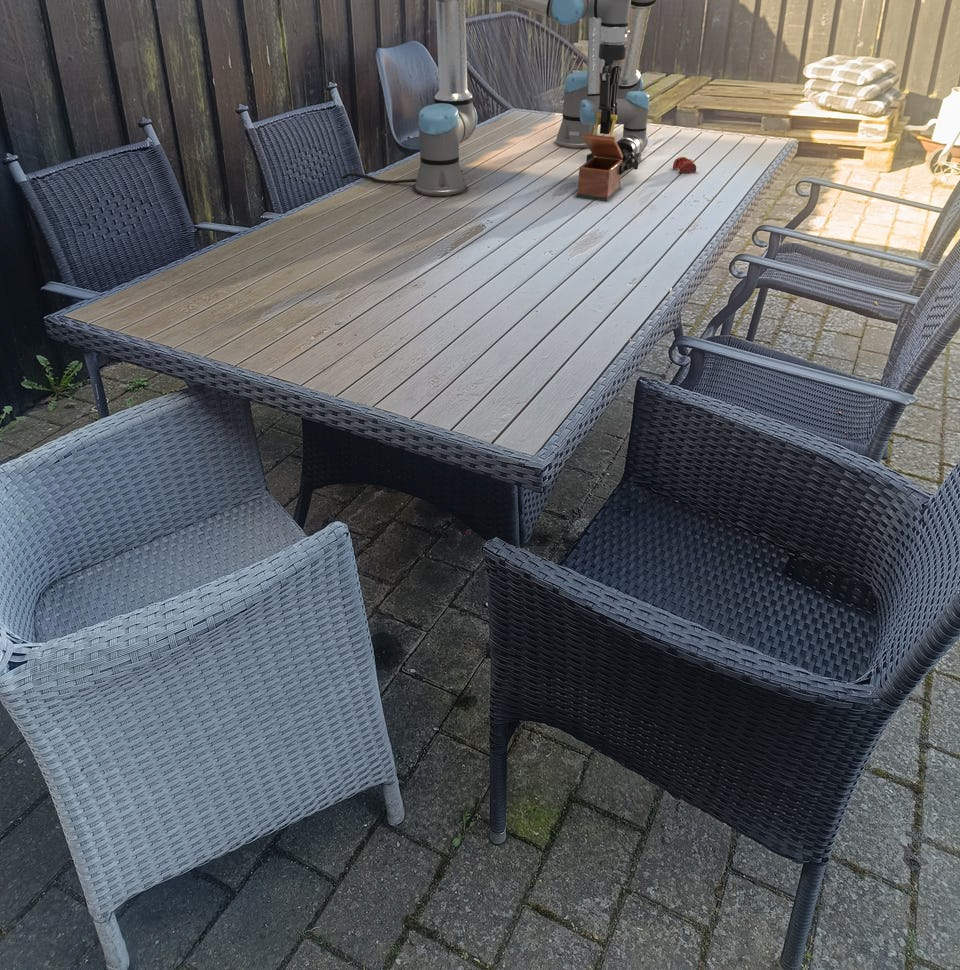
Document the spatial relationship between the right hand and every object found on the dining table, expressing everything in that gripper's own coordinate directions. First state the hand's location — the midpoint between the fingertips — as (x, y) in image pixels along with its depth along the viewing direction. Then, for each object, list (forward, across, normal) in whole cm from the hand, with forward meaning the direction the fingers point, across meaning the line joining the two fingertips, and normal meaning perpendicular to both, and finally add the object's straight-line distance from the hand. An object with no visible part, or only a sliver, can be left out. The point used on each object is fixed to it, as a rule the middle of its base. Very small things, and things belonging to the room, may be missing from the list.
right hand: (604, 168), depth 255 cm
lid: (+3, 0, +6) cm, 7 cm away
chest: (+4, 0, -6) cm, 7 cm away
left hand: (+2, 0, +11) cm, 11 cm away
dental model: (-30, -18, -6) cm, 36 cm away
